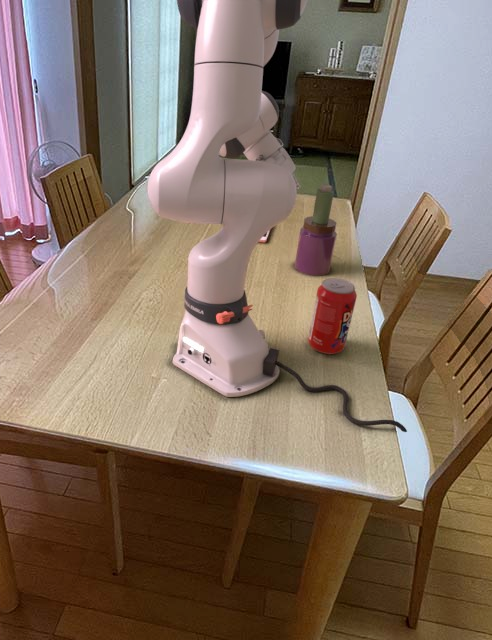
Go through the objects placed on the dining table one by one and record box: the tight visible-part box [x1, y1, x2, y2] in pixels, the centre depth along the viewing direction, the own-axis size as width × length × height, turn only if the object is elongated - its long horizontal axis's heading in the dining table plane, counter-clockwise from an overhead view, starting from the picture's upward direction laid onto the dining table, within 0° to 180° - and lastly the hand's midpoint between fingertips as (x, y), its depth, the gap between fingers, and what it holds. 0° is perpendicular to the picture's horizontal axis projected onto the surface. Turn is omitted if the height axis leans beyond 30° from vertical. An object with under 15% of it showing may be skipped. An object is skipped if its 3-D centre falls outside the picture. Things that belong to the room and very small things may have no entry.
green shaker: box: [312, 184, 335, 224], centre depth 130 cm, size 4×4×10 cm
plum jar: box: [294, 215, 338, 276], centre depth 136 cm, size 10×10×14 cm
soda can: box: [307, 277, 358, 355], centre depth 101 cm, size 8×8×15 cm
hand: (295, 194), depth 132 cm, fingers open, 8 cm apart
